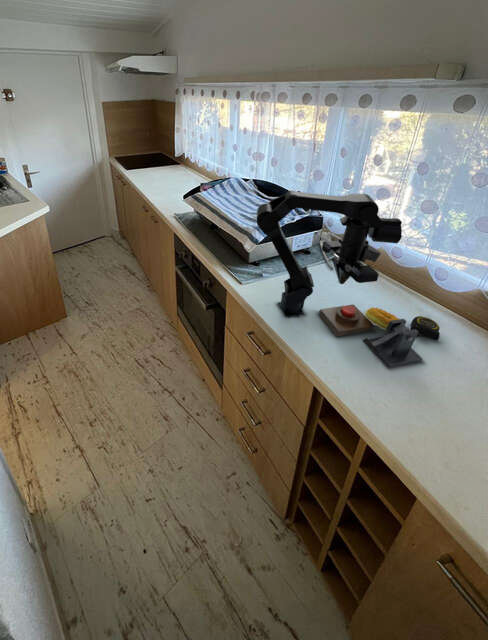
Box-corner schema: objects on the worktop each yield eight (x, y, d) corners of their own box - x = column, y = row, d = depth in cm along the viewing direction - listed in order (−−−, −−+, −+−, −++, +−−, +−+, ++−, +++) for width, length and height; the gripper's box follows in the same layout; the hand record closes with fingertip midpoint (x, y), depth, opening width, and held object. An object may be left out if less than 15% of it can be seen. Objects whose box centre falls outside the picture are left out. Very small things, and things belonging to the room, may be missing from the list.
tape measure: (408, 334, 92) (412, 325, 90) (410, 321, 97) (414, 312, 95) (435, 344, 88) (440, 335, 87) (436, 330, 93) (441, 321, 91)
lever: (376, 357, 82) (374, 352, 81) (363, 343, 86) (361, 338, 85) (414, 338, 81) (413, 332, 80) (400, 324, 85) (398, 319, 84)
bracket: (388, 367, 82) (400, 341, 77) (366, 342, 89) (375, 317, 85) (421, 361, 83) (434, 335, 78) (396, 337, 91) (406, 312, 86)
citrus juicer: (351, 246, 118) (323, 219, 145) (326, 257, 120) (303, 228, 148) (360, 268, 121) (332, 238, 149) (336, 279, 124) (312, 247, 151)
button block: (337, 336, 91) (340, 326, 90) (318, 314, 100) (321, 304, 98) (372, 331, 93) (376, 321, 91) (351, 309, 102) (354, 300, 100)
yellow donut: (394, 312, 97) (388, 322, 98) (363, 301, 97) (357, 311, 98) (415, 330, 87) (408, 341, 88) (380, 318, 87) (374, 329, 88)
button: (346, 318, 93) (347, 314, 92) (338, 310, 96) (340, 306, 95) (356, 316, 94) (358, 312, 93) (349, 309, 97) (350, 304, 96)
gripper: (405, 253, 79) (386, 300, 87) (359, 222, 95) (346, 264, 103) (366, 257, 78) (351, 304, 85) (326, 225, 94) (316, 267, 102)
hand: (341, 283), depth 94 cm, fingers closed
